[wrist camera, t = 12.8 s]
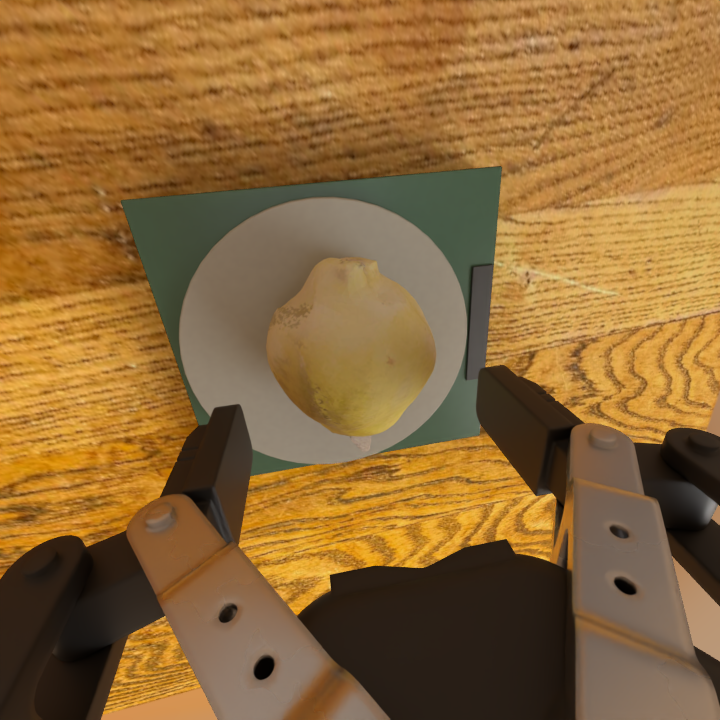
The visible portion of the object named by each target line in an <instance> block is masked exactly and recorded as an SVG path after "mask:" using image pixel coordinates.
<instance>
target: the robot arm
mask: <svg viewBox="0 0 720 720" xmlns="http://www.w3.org/2000/svg"><path fill="white" fill-rule="evenodd" d="M476 413H477V417H478V420H479V422H480V424H481V426H482V427H483V428H484V429H485V431H486V432H487V433H488V435H489V436H490V437H491V438H492V440H493V441H494V442H495V444H496V445H497V446H498V448H499V449H500V450H501V451H502V453H503V454H504V455H505V457H506V458H507V459H508V460H509V462H510V463H511V464H512V466H513V467H514V468H515V469H516V471H517V472H518V473H519V475H520V476H521V477H522V478H523V480H524V481H525V482H526V484H527V485H528V486H529V488H530V489H531V490H532V491H533V493H534V494H535V495H536V496H540V495H545V494H550V493H553V494H554V496H555V497H556V500H555V505H554V516H553V530H552V544H551V558H550V562H549V561H546V560H543V559H540V558H536V557H533V556H528V555H522V554H515V553H514V551H513V549H512V548H511V546H510V544H509V543H508V541H507V539H504V540H500V541H495V542H490V543H485V544H480V545H475V546H470V547H465V548H463V549H461V550H459V551H457V552H455V553H453V554H451V555H449V556H447V557H445V558H444V559H442V560H440V561H438V562H436V563H434V564H432V565H430V566H428V567H425V568H408V567H389V566H371V567H366V568H362V569H357V570H352V571H347V572H342V573H337V574H332V575H330V582H331V591H330V592H328V593H326V594H324V595H322V596H321V597H319V598H318V599H316V600H315V601H313V602H312V603H311V604H310V605H308V606H307V607H306V608H305V609H304V610H302V611H301V612H300V614H299V615H298V616H296V615H295V614H294V613H293V611H292V610H291V609H290V608H289V607H288V605H287V604H286V603H285V602H284V601H283V599H282V598H281V597H280V596H279V595H278V593H277V592H276V591H275V590H274V589H273V587H272V586H271V585H270V584H269V583H268V581H267V580H266V579H265V578H264V577H263V575H262V574H261V573H260V572H259V571H258V569H257V568H256V567H255V566H254V565H253V563H252V562H251V561H250V560H249V559H248V557H247V556H246V555H245V554H244V553H243V551H242V550H241V549H240V548H239V547H238V545H239V539H240V533H241V527H242V521H243V515H244V509H245V503H246V497H247V492H248V486H249V480H250V474H251V468H252V462H253V450H252V444H251V440H250V436H249V432H248V429H247V425H246V421H245V418H244V414H243V410H242V407H241V405H240V404H234V405H227V406H221V407H215V408H214V409H213V412H212V414H211V417H210V420H209V422H208V424H206V425H199V426H198V427H197V428H196V429H195V430H194V431H193V432H192V433H191V434H190V435H189V436H188V437H187V438H186V441H185V443H184V445H183V447H182V452H180V454H179V456H178V458H177V462H176V463H175V465H174V467H173V470H172V472H171V474H170V476H169V478H168V481H167V483H166V485H165V487H164V489H163V492H162V494H161V496H160V498H158V499H156V500H154V501H152V502H150V503H149V504H147V505H146V506H144V507H143V508H142V509H140V510H139V511H138V512H137V513H136V514H135V516H134V517H133V518H132V519H131V521H130V523H129V525H128V527H127V530H126V531H124V532H122V533H120V534H117V535H115V536H112V537H110V538H108V539H105V540H103V541H100V542H98V543H96V544H93V545H91V546H88V547H86V546H85V545H84V543H83V542H82V540H81V539H80V538H79V537H76V536H72V535H69V536H60V537H57V538H54V539H51V540H48V541H46V542H44V543H42V544H40V545H38V546H36V547H34V548H33V549H31V550H30V551H28V552H27V553H25V554H24V555H23V556H22V557H20V558H19V559H18V560H17V561H16V562H15V563H14V564H13V565H12V566H11V567H10V568H9V569H8V570H7V571H6V573H5V574H4V575H3V577H2V578H1V579H0V720H101V717H102V714H103V711H104V708H105V705H106V702H107V699H108V696H109V692H110V689H111V686H112V683H113V680H114V677H115V674H116V671H117V668H118V665H119V662H120V659H121V656H122V653H123V650H124V647H125V644H126V641H127V638H128V635H129V634H131V633H133V632H135V631H137V630H139V629H141V628H143V627H144V626H146V625H148V624H150V623H152V622H154V621H156V620H158V619H160V618H162V617H164V616H166V618H167V620H168V622H169V624H170V626H171V628H172V630H173V632H174V634H175V636H176V638H177V640H178V642H179V644H180V646H181V648H182V650H183V652H184V654H185V656H186V658H187V660H188V662H189V664H190V666H191V667H192V669H193V671H194V673H195V675H196V677H197V679H198V681H199V683H200V685H201V687H202V689H203V691H204V693H205V695H206V697H207V699H208V701H209V703H210V705H211V707H212V709H213V711H214V713H215V715H216V717H217V719H218V720H720V662H719V661H718V660H716V659H714V658H713V657H711V656H710V655H708V654H706V653H705V652H703V651H702V650H700V649H698V648H697V647H695V646H693V643H692V639H691V634H690V630H689V626H688V622H687V618H686V614H685V610H684V605H683V601H682V597H681V593H680V589H679V584H678V580H677V576H676V572H675V568H674V564H673V559H672V556H673V557H674V558H675V560H676V561H678V563H679V564H680V565H681V566H682V567H683V568H684V569H685V570H686V571H687V572H688V573H689V574H690V575H691V576H692V577H693V578H694V580H696V582H697V583H698V584H699V585H700V586H701V587H702V588H703V589H704V590H705V591H706V592H707V593H708V594H709V595H710V596H711V598H712V599H714V601H715V602H716V603H717V604H718V605H719V606H720V525H718V524H717V523H716V522H715V521H714V520H712V519H711V518H712V516H713V514H714V512H715V510H716V508H717V506H718V505H719V506H720V437H718V436H716V435H714V434H711V433H708V432H705V431H702V430H697V429H692V428H675V429H671V430H669V431H668V432H667V433H666V436H665V438H664V441H663V443H662V444H649V443H633V442H632V440H631V439H630V438H629V437H627V436H626V435H625V434H623V433H622V432H620V431H618V430H616V429H614V428H611V427H608V426H605V425H600V424H592V423H586V424H585V423H584V422H583V421H581V420H580V419H579V418H578V417H576V416H575V415H574V414H573V413H572V412H570V411H569V410H568V409H567V408H565V407H564V406H563V405H562V404H561V403H559V402H558V401H555V399H554V398H553V397H552V396H551V395H550V394H547V393H546V391H545V390H543V389H542V388H541V387H540V386H539V385H537V384H536V383H534V382H532V381H530V380H527V379H525V378H523V377H518V376H517V375H515V374H514V373H513V372H512V371H511V370H510V369H508V368H507V367H506V366H504V365H500V366H493V367H486V368H481V369H480V371H479V374H478V385H477V398H476Z"/></svg>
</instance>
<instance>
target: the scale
mask: <svg viewBox="0 0 720 720" xmlns="http://www.w3.org/2000/svg"><path fill="white" fill-rule="evenodd" d="M501 171H502V167H501V166H497V167H485V168H474V169H463V170H452V171H441V172H430V173H419V174H407V175H396V176H385V177H374V178H363V179H352V180H341V181H329V182H318V183H307V184H296V185H285V186H274V187H263V188H251V189H240V190H229V191H218V192H207V193H196V194H184V195H173V196H162V197H151V198H140V199H129V200H121V204H122V207H123V210H124V212H125V215H126V218H127V221H128V224H129V227H130V230H131V232H132V235H133V238H134V241H135V244H136V247H137V250H138V253H139V255H140V258H141V261H142V264H143V267H144V270H145V273H146V276H147V278H148V281H149V284H150V287H151V290H152V293H153V296H154V298H155V301H156V304H157V307H158V310H159V313H160V316H161V319H162V321H163V324H164V327H165V330H166V333H167V336H168V339H169V342H170V344H171V347H172V350H173V353H174V356H175V359H176V362H177V364H178V367H179V370H180V373H181V376H182V379H183V382H184V385H185V387H186V390H187V393H188V396H189V399H190V402H191V405H192V408H193V410H194V413H195V416H196V419H197V422H198V425H206V424H208V422H209V420H210V417H211V414H212V412H213V409H214V408H215V407H221V406H227V405H234V404H240V405H241V407H242V410H243V414H244V418H245V421H246V425H247V429H248V432H249V436H250V440H251V444H252V450H253V462H252V468H251V474H250V476H254V475H259V474H265V473H270V472H276V471H282V470H287V469H293V468H298V467H304V466H310V465H315V464H333V463H341V462H348V461H352V460H356V459H361V458H364V457H367V456H370V455H373V454H377V453H383V452H388V451H394V450H400V449H405V448H411V447H416V446H422V445H428V444H433V443H439V442H444V441H450V440H456V439H461V438H467V437H472V436H478V435H479V433H480V422H479V420H478V417H477V413H476V398H477V385H478V374H479V371H480V369H481V368H485V362H486V350H487V338H488V326H489V314H490V302H491V290H492V278H493V267H494V255H495V243H496V231H497V219H498V207H499V195H500V183H501ZM345 257H360V258H365V259H370V260H375V261H377V266H378V270H379V273H381V274H382V275H384V276H385V277H387V278H388V279H390V280H392V281H394V282H396V283H398V284H399V285H401V286H402V287H403V288H405V289H406V290H407V291H408V292H409V293H410V294H411V296H412V297H413V298H414V299H415V300H416V302H417V303H418V305H419V306H420V308H421V310H422V312H423V314H424V316H425V318H426V321H427V323H428V325H429V327H430V329H431V331H432V334H433V338H434V341H435V347H436V362H435V366H434V370H433V372H432V374H431V376H430V377H429V379H428V381H427V383H426V384H425V386H424V387H423V389H422V390H421V392H420V393H419V394H418V396H417V397H416V399H415V400H414V401H413V402H412V403H411V404H410V405H409V406H408V407H407V408H406V410H405V411H404V412H403V414H402V415H401V417H400V418H399V419H398V421H397V422H396V423H395V424H394V425H393V426H391V427H390V428H389V429H387V430H385V431H383V432H381V433H379V434H375V435H371V444H370V449H369V451H366V452H362V451H361V450H360V449H359V448H358V447H357V445H356V444H354V443H353V442H352V441H351V439H350V436H345V435H340V434H336V433H332V432H331V431H329V430H328V429H327V428H325V427H324V426H323V425H321V424H320V423H319V422H317V421H315V420H313V419H312V418H310V417H308V416H307V415H306V414H305V413H303V412H302V411H301V410H300V409H299V408H298V407H297V406H296V405H295V404H294V403H293V402H292V401H291V400H290V399H289V397H288V396H287V395H286V394H285V392H284V391H283V389H282V388H281V386H280V385H279V383H278V382H277V380H276V378H275V377H274V374H273V373H272V371H271V368H270V365H269V363H268V359H267V350H266V344H267V335H268V330H269V326H270V322H271V319H272V316H273V314H274V312H275V311H276V310H277V308H279V307H280V308H281V307H282V306H283V305H285V304H286V303H287V302H288V301H289V300H291V299H292V298H293V297H295V296H296V295H297V294H298V293H299V292H300V291H301V289H302V288H303V286H304V284H305V282H306V280H307V278H308V277H309V275H310V273H311V271H312V270H313V268H314V267H315V265H317V264H318V263H319V262H321V261H322V260H324V259H327V258H338V259H340V258H345Z"/></svg>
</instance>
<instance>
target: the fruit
mask: <svg viewBox="0 0 720 720" xmlns="http://www.w3.org/2000/svg"><path fill="white" fill-rule="evenodd" d="M266 350H267V359H268V363H269V365H270V368H271V371H272V373H273V374H274V377H275V378H276V380H277V382H278V383H279V385H280V386H281V388H282V389H283V391H284V392H285V394H286V395H287V396H288V397H289V399H290V400H291V401H292V402H293V403H294V404H295V405H296V406H297V407H298V408H299V409H300V410H301V411H302V412H303V413H305V414H306V415H307V416H308V417H310V418H312V419H313V420H315V421H317V422H319V423H320V424H321V425H323V426H324V427H325V428H327V429H328V430H329V431H331V432H332V433H336V434H340V435H345V436H350V439H351V441H352V442H353V443H354V444H356V445H357V447H358V448H359V449H360V450H361V451H362V452H366V451H369V449H370V444H371V435H375V434H379V433H381V432H383V431H385V430H387V429H389V428H390V427H391V426H393V425H394V424H395V423H396V422H397V421H398V419H399V418H400V417H401V415H402V414H403V412H404V411H405V410H406V408H407V407H408V406H409V405H410V404H411V403H412V402H413V401H414V400H415V399H416V397H417V396H418V394H419V393H420V392H421V390H422V389H423V387H424V386H425V384H426V383H427V381H428V379H429V377H430V376H431V374H432V372H433V370H434V366H435V362H436V347H435V341H434V338H433V334H432V331H431V329H430V327H429V325H428V323H427V321H426V318H425V316H424V314H423V312H422V310H421V308H420V306H419V305H418V303H417V302H416V300H415V299H414V298H413V297H412V296H411V294H410V293H409V292H408V291H407V290H406V289H405V288H403V287H402V286H401V285H399V284H398V283H396V282H394V281H392V280H390V279H388V278H387V277H385V276H384V275H382V274H381V273H379V270H378V266H377V261H375V260H370V259H365V258H360V257H345V258H340V259H338V258H327V259H324V260H322V261H321V262H319V263H318V264H317V265H315V267H314V268H313V270H312V271H311V273H310V275H309V277H308V278H307V280H306V282H305V284H304V286H303V288H302V289H301V291H300V292H299V293H298V294H297V295H296V296H295V297H293V298H292V299H291V300H289V301H288V302H287V303H286V304H285V305H283V306H282V307H281V308H280V307H279V308H277V310H276V311H275V312H274V314H273V316H272V319H271V322H270V326H269V330H268V335H267V344H266Z"/></svg>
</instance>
